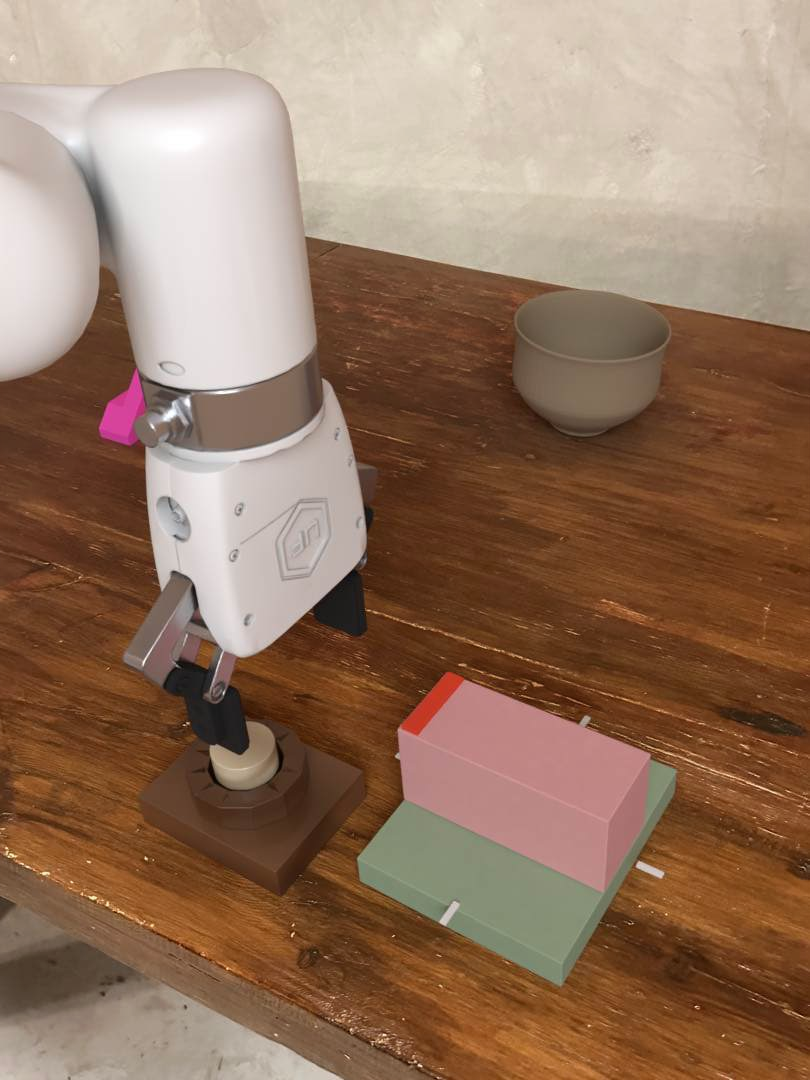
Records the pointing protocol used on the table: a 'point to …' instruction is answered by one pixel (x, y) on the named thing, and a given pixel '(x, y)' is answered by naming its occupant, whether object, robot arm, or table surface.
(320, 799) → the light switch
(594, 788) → the pink bar
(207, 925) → the table surface
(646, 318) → the bowl
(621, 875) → the green mat
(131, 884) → the table surface
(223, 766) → the button
